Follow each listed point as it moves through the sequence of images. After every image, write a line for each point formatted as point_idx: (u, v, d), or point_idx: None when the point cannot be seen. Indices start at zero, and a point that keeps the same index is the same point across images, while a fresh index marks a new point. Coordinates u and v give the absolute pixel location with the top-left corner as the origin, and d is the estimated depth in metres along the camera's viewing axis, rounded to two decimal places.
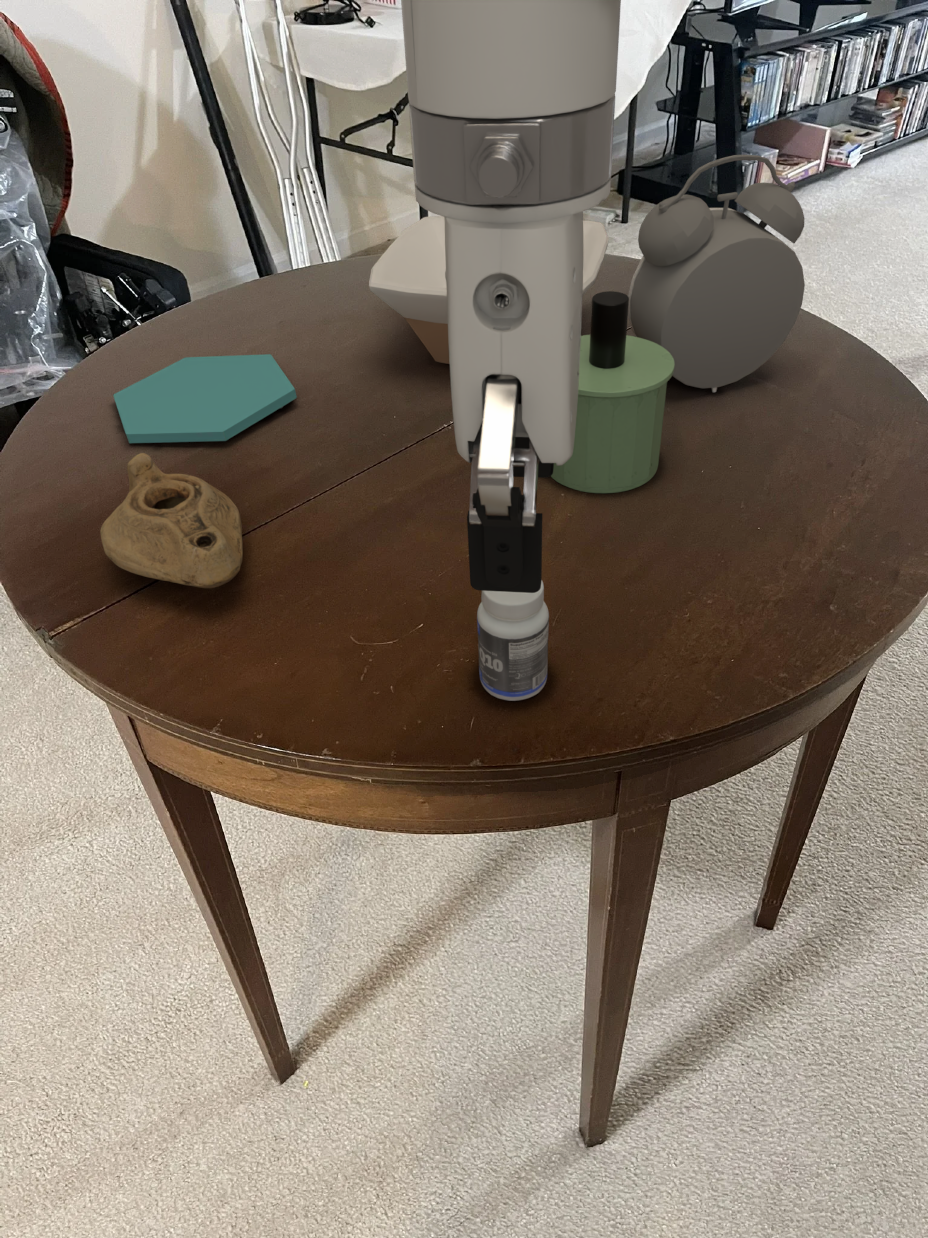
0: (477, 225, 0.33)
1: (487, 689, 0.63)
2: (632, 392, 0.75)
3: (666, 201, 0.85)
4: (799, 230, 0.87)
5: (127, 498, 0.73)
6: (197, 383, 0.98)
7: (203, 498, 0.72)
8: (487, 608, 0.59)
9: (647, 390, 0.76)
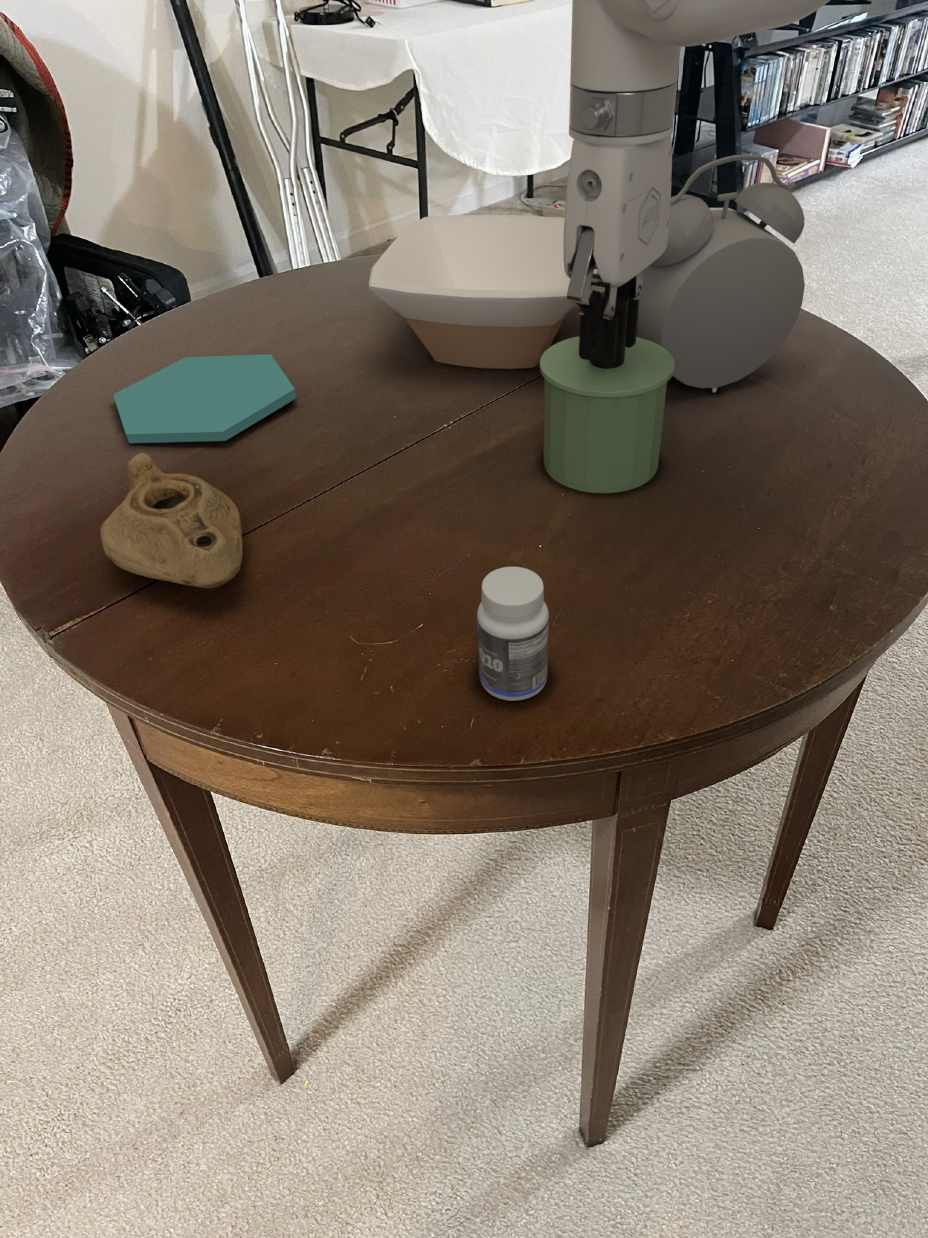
0: (584, 143, 0.66)
1: (487, 689, 0.63)
2: (632, 392, 0.75)
3: None
4: (799, 230, 0.87)
5: (127, 498, 0.73)
6: (197, 383, 0.98)
7: (203, 498, 0.72)
8: (487, 608, 0.59)
9: (647, 390, 0.76)
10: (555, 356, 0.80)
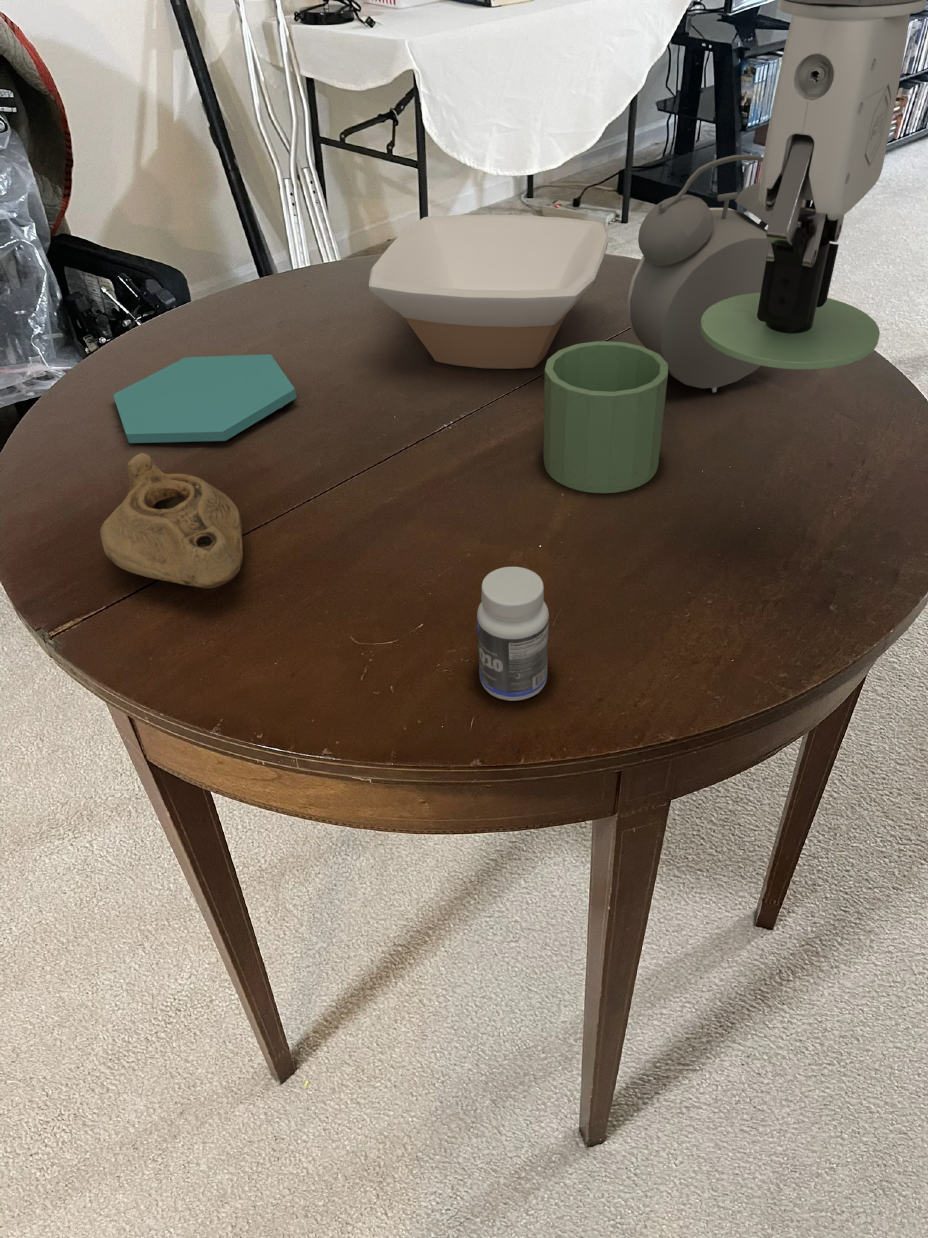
0: (811, 18, 0.48)
1: (487, 689, 0.63)
2: (835, 363, 0.58)
3: (666, 201, 0.85)
4: None
5: (127, 498, 0.73)
6: (197, 383, 0.98)
7: (202, 498, 0.72)
8: (487, 608, 0.59)
9: (853, 360, 0.58)
10: (720, 318, 0.63)
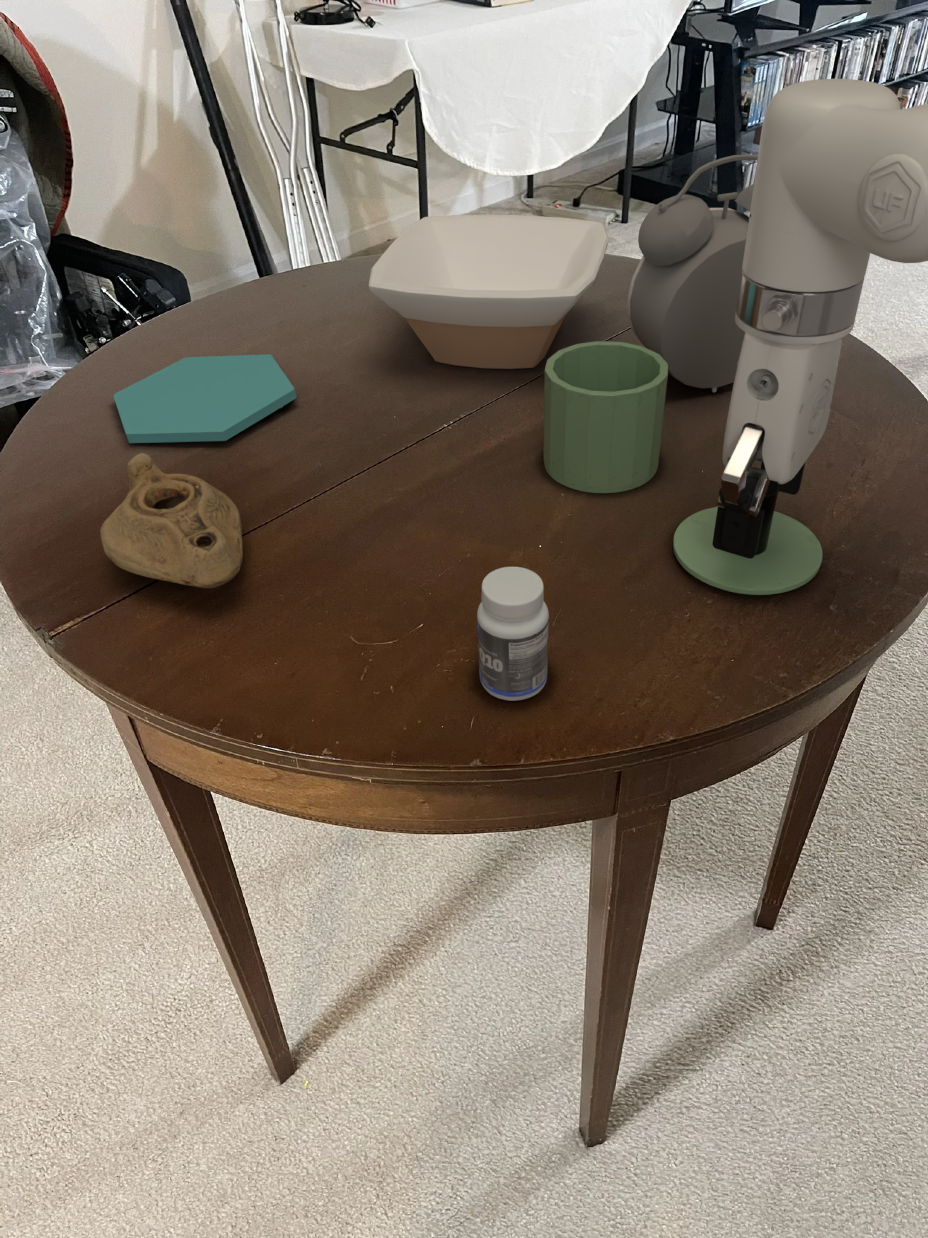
0: (759, 341, 0.59)
1: (487, 689, 0.63)
2: (783, 589, 0.69)
3: (666, 201, 0.85)
4: None
5: (127, 498, 0.73)
6: (197, 383, 0.98)
7: (202, 498, 0.72)
8: (487, 608, 0.59)
9: (798, 586, 0.70)
10: (689, 537, 0.74)
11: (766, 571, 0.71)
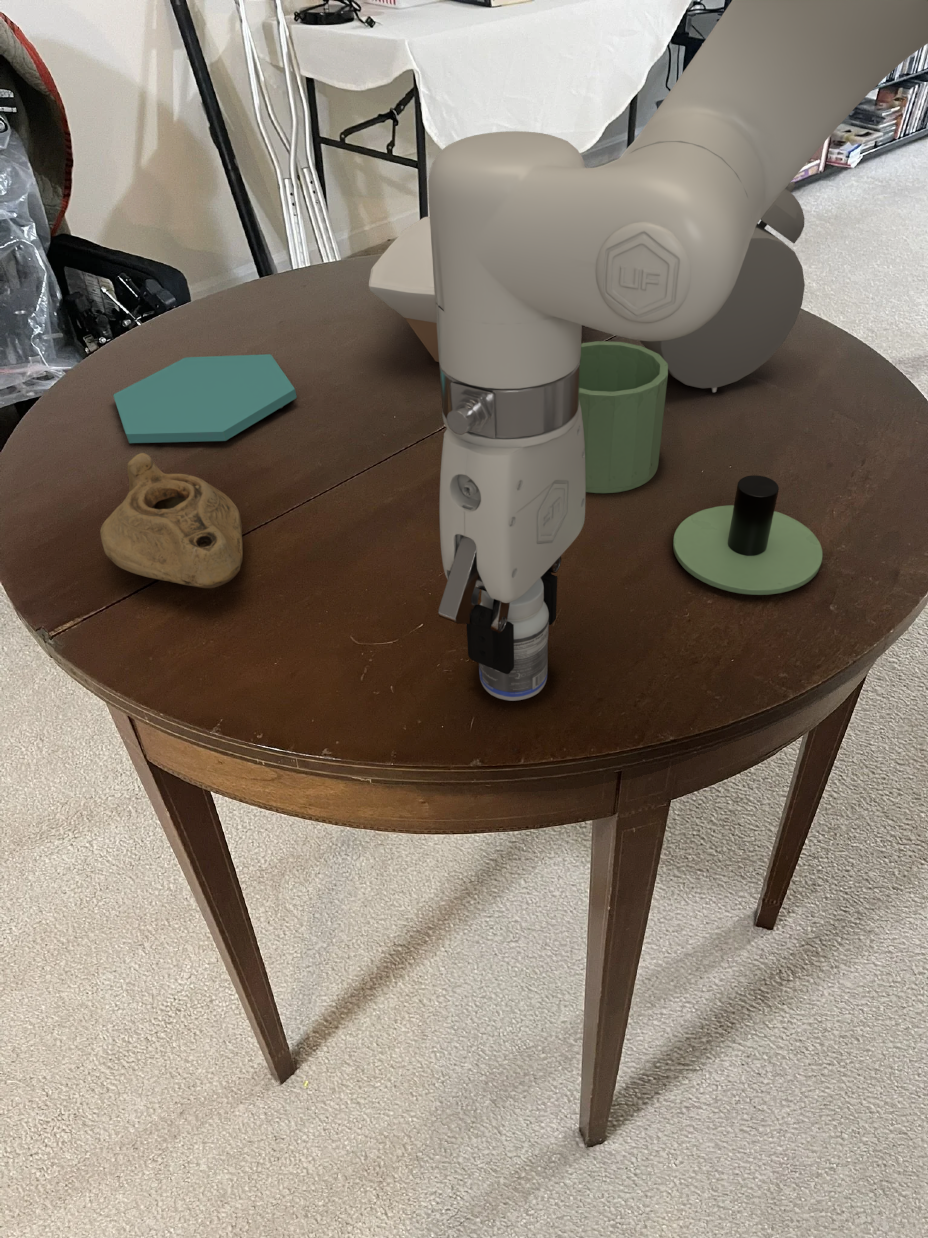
0: (457, 441, 0.49)
1: (487, 689, 0.63)
2: (783, 589, 0.69)
3: None
4: (799, 230, 0.87)
5: (127, 498, 0.73)
6: (197, 383, 0.98)
7: (203, 498, 0.72)
8: None
9: (798, 586, 0.70)
10: (689, 537, 0.74)
11: (766, 571, 0.71)
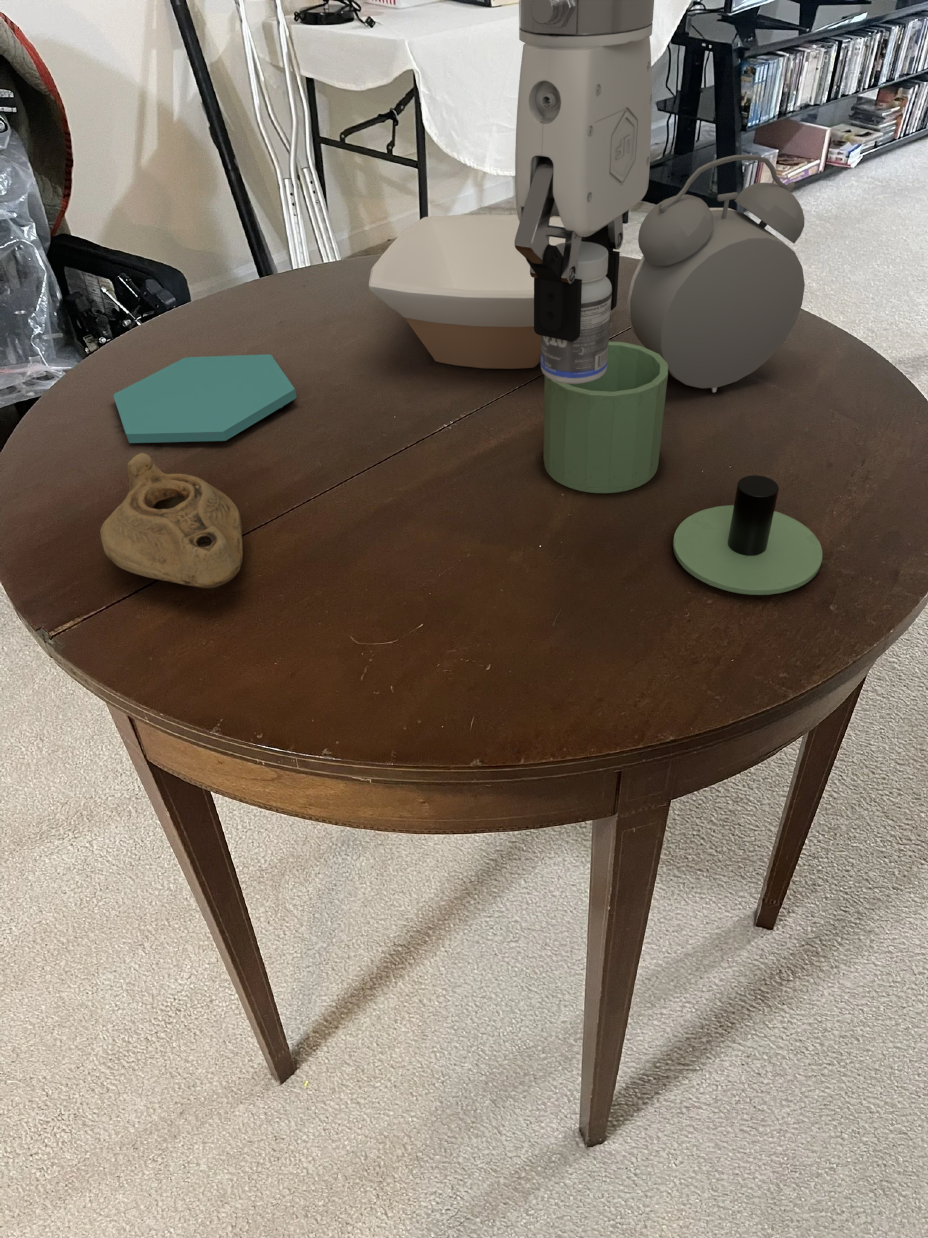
0: (537, 46, 0.51)
1: (549, 374, 0.65)
2: (783, 589, 0.69)
3: (666, 201, 0.85)
4: (799, 230, 0.87)
5: (127, 498, 0.73)
6: (197, 383, 0.98)
7: (202, 498, 0.72)
8: None
9: (798, 586, 0.70)
10: (689, 537, 0.74)
11: (766, 571, 0.71)
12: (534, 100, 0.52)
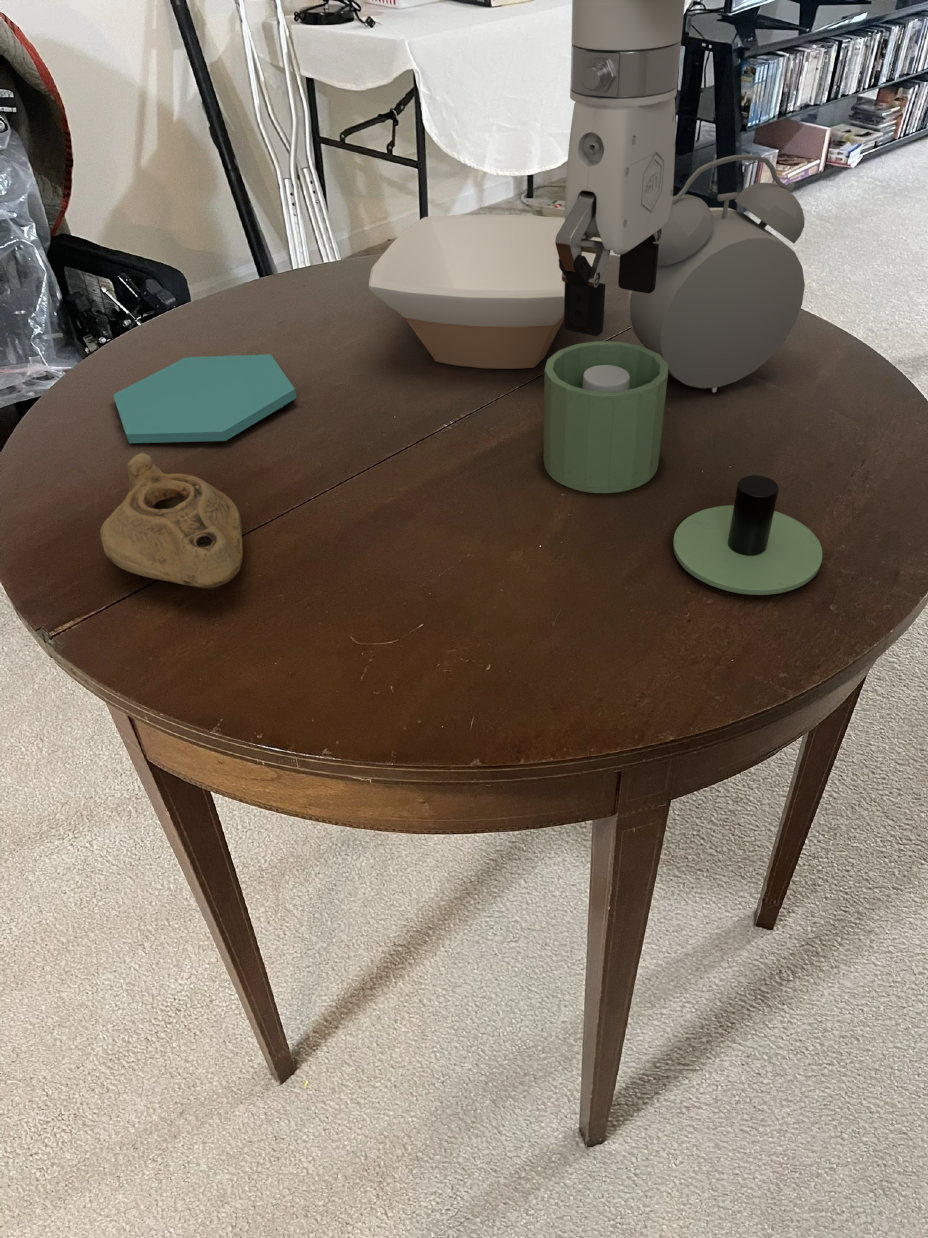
0: (586, 105, 0.64)
1: None
2: (783, 589, 0.69)
3: None
4: (799, 230, 0.87)
5: (127, 498, 0.73)
6: (197, 383, 0.98)
7: (202, 499, 0.72)
8: None
9: (798, 586, 0.70)
10: (689, 537, 0.74)
11: (766, 571, 0.71)
12: (582, 147, 0.66)
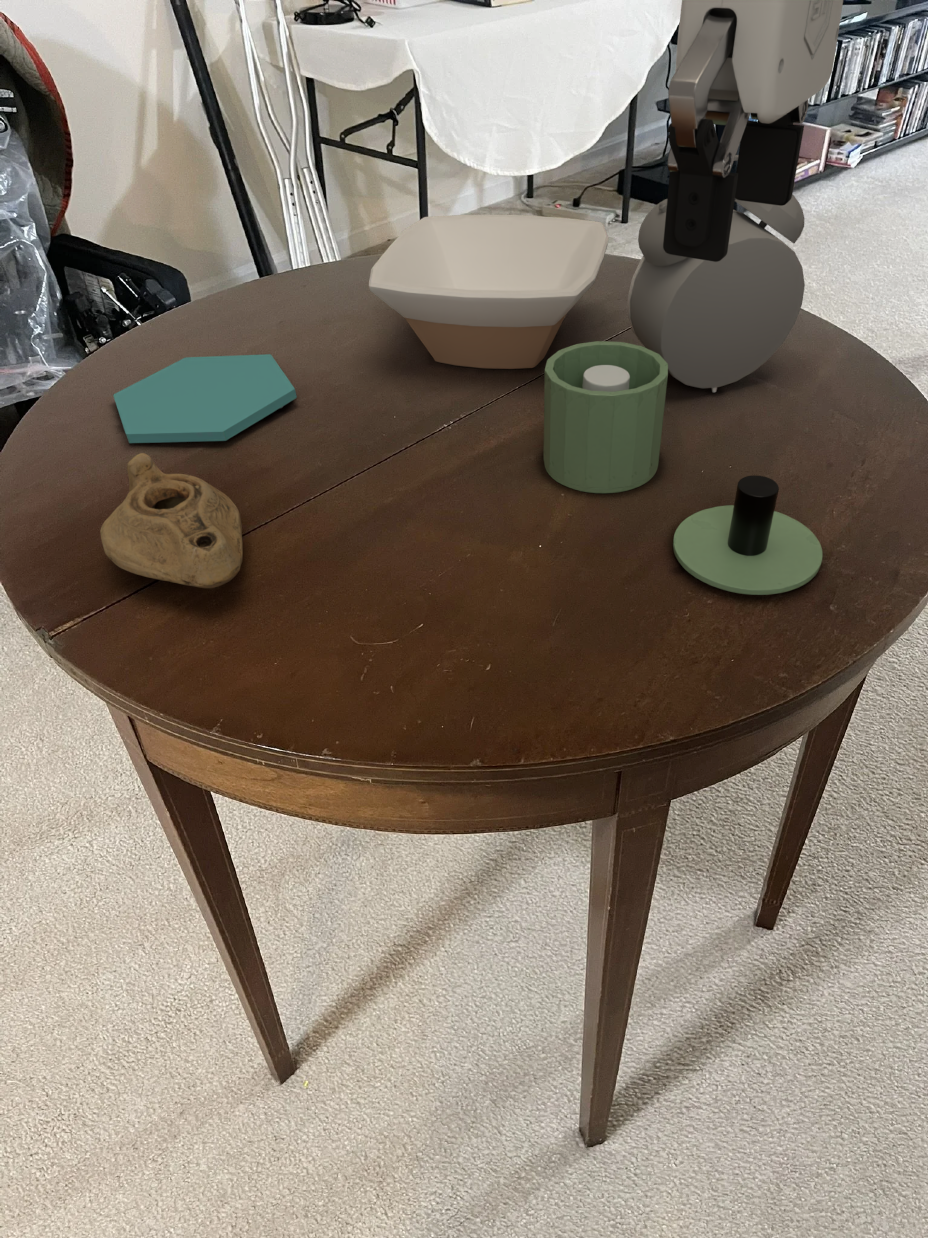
0: None
1: None
2: (783, 589, 0.69)
3: (666, 201, 0.85)
4: (799, 230, 0.87)
5: (127, 498, 0.73)
6: (197, 383, 0.98)
7: (202, 499, 0.72)
8: None
9: (798, 586, 0.70)
10: (689, 537, 0.74)
11: (766, 571, 0.71)
12: None
